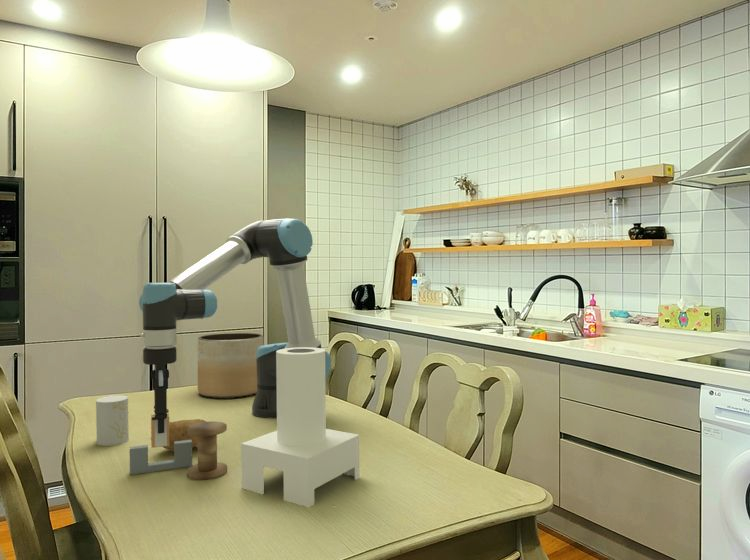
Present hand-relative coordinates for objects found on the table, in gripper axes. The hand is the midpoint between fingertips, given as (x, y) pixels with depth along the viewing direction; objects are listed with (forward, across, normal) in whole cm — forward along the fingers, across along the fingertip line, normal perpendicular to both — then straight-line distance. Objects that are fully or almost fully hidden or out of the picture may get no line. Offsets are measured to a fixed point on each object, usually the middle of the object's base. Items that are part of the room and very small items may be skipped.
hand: (160, 443), depth 135 cm
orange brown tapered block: (0, 0, 0) cm, 0 cm away
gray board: (+6, 0, 0) cm, 6 cm away
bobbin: (+6, +7, +10) cm, 14 cm away
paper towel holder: (+7, +22, +29) cm, 37 cm away
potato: (+6, -13, +6) cm, 16 cm away
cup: (+7, -29, -12) cm, 32 cm away
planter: (+6, -79, +28) cm, 84 cm away
